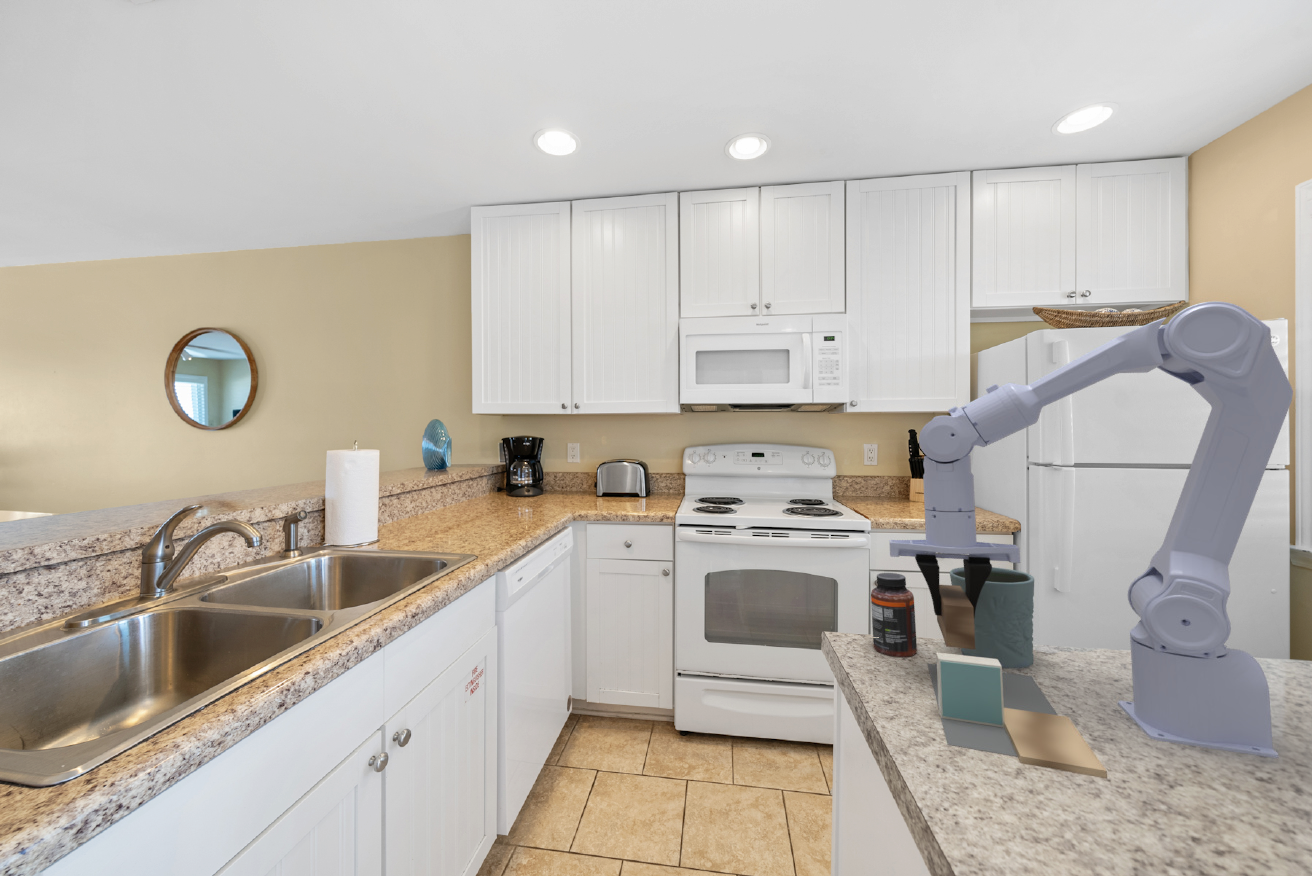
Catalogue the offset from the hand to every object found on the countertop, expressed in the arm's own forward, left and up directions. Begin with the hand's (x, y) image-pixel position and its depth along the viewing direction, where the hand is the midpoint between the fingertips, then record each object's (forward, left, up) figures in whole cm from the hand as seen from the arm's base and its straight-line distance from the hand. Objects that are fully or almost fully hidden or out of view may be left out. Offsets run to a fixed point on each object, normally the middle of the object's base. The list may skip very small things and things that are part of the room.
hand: (953, 614), depth 66 cm
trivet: (-6, +13, -9) cm, 16 cm away
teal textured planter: (-6, -10, -9) cm, 15 cm away
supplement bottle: (+7, -8, -9) cm, 14 cm away
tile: (0, +10, -8) cm, 13 cm away
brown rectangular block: (0, 0, -2) cm, 2 cm away
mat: (-3, +6, -9) cm, 11 cm away
